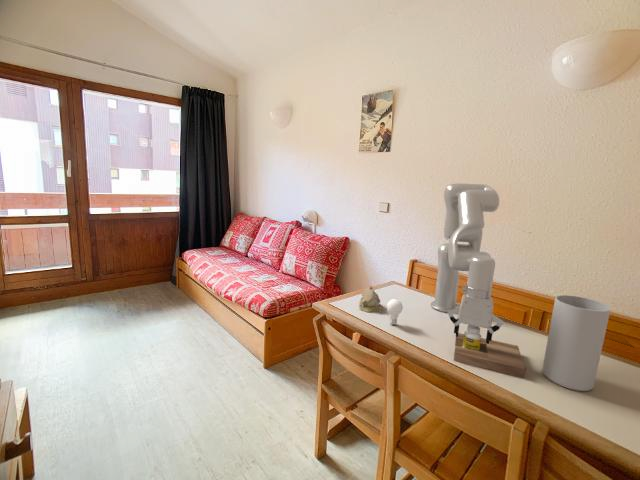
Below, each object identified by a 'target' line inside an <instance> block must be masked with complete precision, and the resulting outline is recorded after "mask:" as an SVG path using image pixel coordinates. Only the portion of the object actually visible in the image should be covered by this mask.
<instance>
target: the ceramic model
mask: <svg viewBox="0 0 640 480" xmlns="http://www.w3.org/2000/svg"><path fill="white" fill-rule="evenodd" d="M361 296H362V297H361V298H360V300H359V303H360V304H359V307H358V308H359V310H361V311H363V312H365V313H375V312H374V311H377V312H381V311H382V309H383V306H382V305H383V304H381V299H380V298H379V297H380V296H379V294H378V293H376V292H375V290H374V289H373V286H371V285H369V286H367V287H366V288H364V289H363V291H362V292H361ZM380 310H381V311H380Z"/></svg>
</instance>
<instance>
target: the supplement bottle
mask: <svg viewBox="0 0 640 480" xmlns="http://www.w3.org/2000/svg"><path fill="white" fill-rule="evenodd" d="M463 334H464V339H463V346H462V347H463V348H467V349H471V350H476V351H479V349H480V343H481V338H482V335H481V327H477V326H473V325H468V324H467V327H466V330H465V331H464V333H463Z"/></svg>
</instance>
